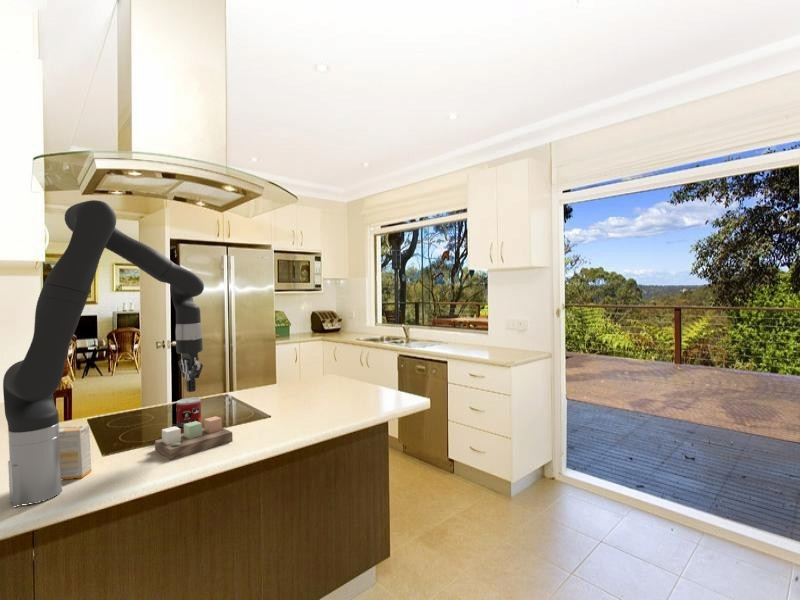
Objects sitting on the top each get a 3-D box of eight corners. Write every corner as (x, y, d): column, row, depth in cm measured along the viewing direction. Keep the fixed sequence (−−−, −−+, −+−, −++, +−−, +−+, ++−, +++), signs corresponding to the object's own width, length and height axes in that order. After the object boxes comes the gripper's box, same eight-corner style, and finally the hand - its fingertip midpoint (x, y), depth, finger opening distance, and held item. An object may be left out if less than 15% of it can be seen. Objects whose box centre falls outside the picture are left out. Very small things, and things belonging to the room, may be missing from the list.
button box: (170, 459, 122) (170, 447, 122) (155, 450, 130) (154, 438, 130) (232, 441, 137) (232, 430, 137) (215, 433, 145) (215, 423, 145)
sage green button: (189, 439, 131) (189, 426, 131) (184, 436, 134) (183, 424, 134) (202, 435, 134) (201, 423, 134) (196, 433, 137) (196, 421, 137)
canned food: (174, 436, 143) (173, 404, 143) (180, 428, 150) (179, 398, 150) (199, 433, 145) (198, 402, 145) (203, 426, 153) (202, 396, 152)
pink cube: (210, 433, 136) (209, 421, 136) (204, 431, 139) (204, 419, 139) (221, 430, 139) (221, 418, 139) (216, 427, 142) (215, 416, 142)
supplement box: (92, 471, 116) (90, 424, 115) (82, 478, 111) (80, 429, 111) (59, 473, 114) (57, 426, 114) (47, 481, 110) (45, 432, 109)
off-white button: (167, 445, 126) (166, 432, 126) (162, 442, 129) (161, 429, 129) (181, 441, 129) (180, 428, 129) (175, 438, 132) (175, 426, 132)
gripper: (168, 337, 135) (170, 390, 135) (185, 340, 126) (188, 397, 127) (192, 335, 141) (194, 386, 141) (210, 337, 132) (212, 392, 133)
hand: (191, 391), depth 134 cm, fingers closed
